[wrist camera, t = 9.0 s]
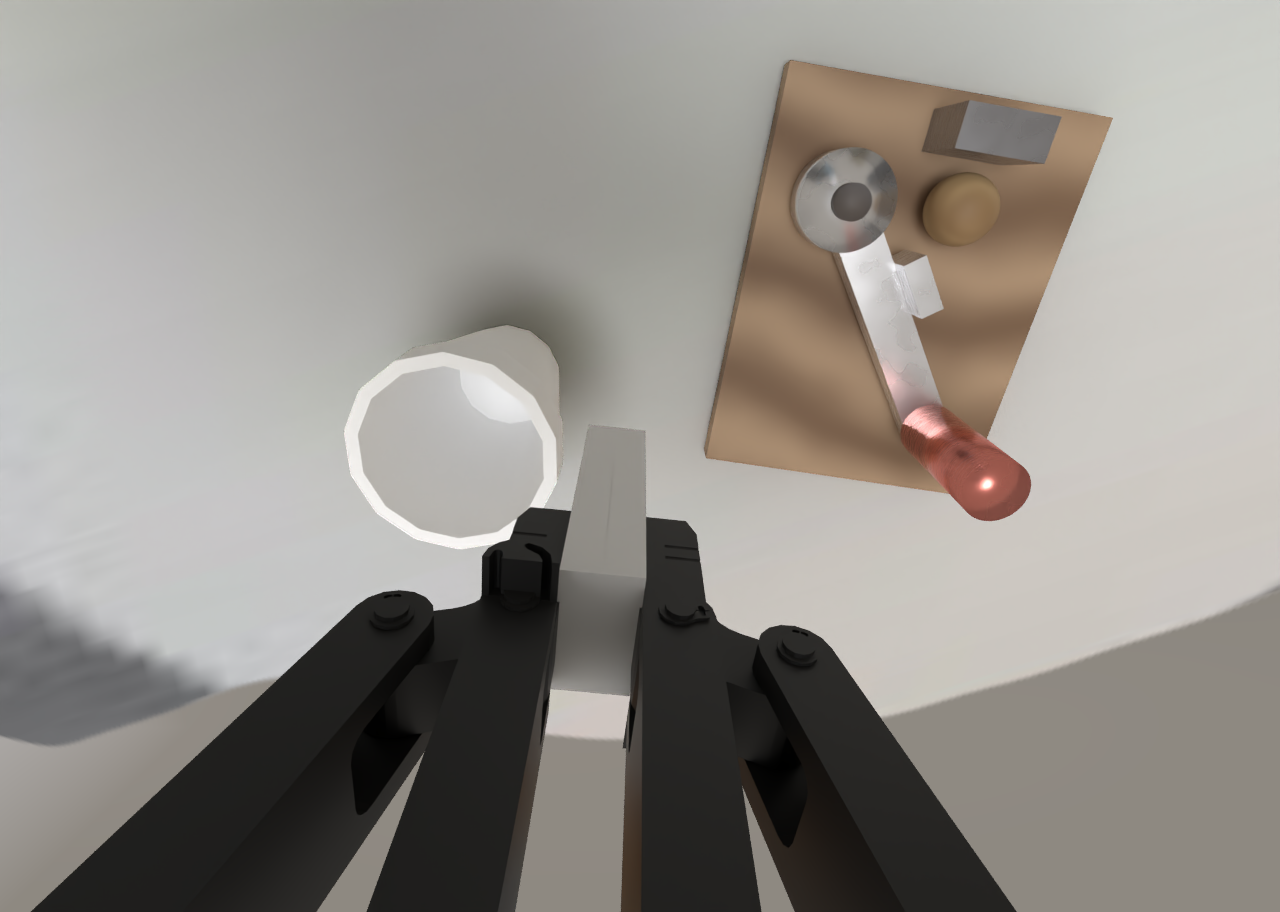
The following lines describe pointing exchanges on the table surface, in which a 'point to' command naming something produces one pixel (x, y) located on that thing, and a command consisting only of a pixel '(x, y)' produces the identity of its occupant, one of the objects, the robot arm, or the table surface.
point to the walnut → (961, 209)
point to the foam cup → (460, 437)
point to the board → (965, 276)
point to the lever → (902, 331)
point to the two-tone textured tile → (991, 133)
